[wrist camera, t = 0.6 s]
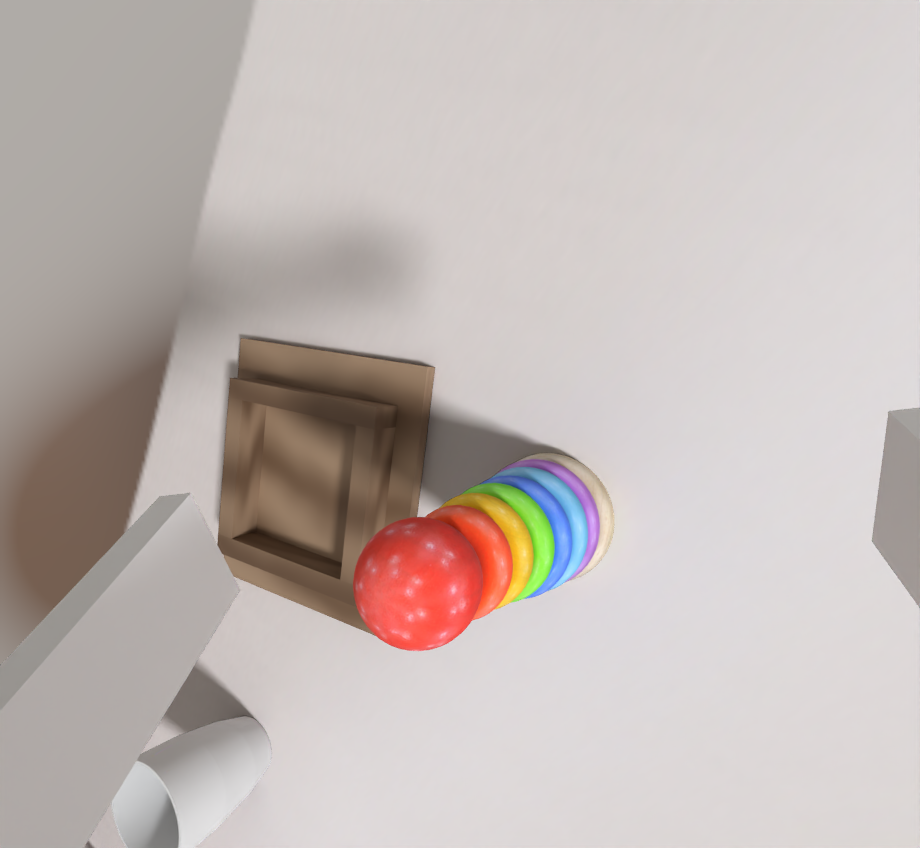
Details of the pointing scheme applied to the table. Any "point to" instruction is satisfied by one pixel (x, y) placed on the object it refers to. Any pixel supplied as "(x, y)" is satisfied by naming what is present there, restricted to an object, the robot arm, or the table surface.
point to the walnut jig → (318, 467)
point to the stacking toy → (483, 551)
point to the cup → (190, 784)
